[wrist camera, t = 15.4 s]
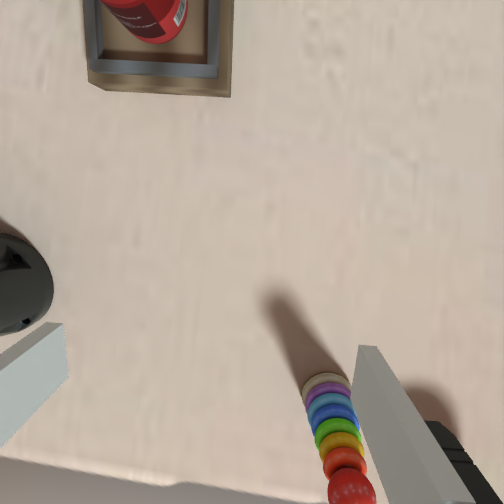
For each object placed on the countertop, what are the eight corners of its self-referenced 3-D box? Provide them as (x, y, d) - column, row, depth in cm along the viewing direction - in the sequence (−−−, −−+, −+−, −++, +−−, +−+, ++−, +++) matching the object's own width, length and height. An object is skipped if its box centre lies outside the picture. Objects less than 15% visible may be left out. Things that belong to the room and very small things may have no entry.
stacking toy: (313, 363, 48) (342, 478, 30) (360, 380, 49) (416, 503, 31) (293, 403, 50) (309, 533, 32) (339, 419, 51) (380, 556, 33)
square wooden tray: (105, 90, 40) (80, 78, 34) (96, -63, 36) (67, -104, 30) (230, 97, 39) (225, 85, 34) (236, -57, 35) (231, -98, 30)
